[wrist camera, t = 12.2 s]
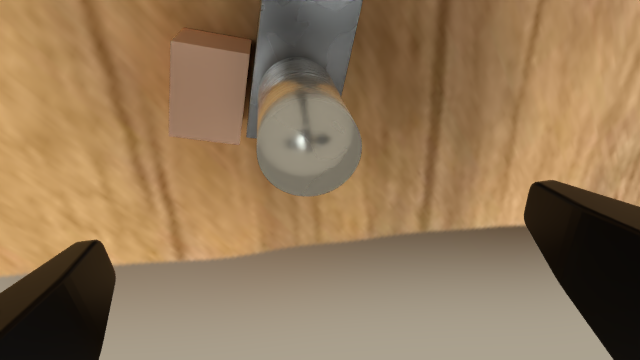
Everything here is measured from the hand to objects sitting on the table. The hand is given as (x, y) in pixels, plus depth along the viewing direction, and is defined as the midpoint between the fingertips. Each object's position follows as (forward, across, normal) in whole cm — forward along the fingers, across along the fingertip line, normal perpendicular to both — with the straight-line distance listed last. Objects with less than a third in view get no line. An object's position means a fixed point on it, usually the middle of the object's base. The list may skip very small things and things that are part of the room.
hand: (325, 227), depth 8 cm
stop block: (+13, +4, 0) cm, 13 cm away
